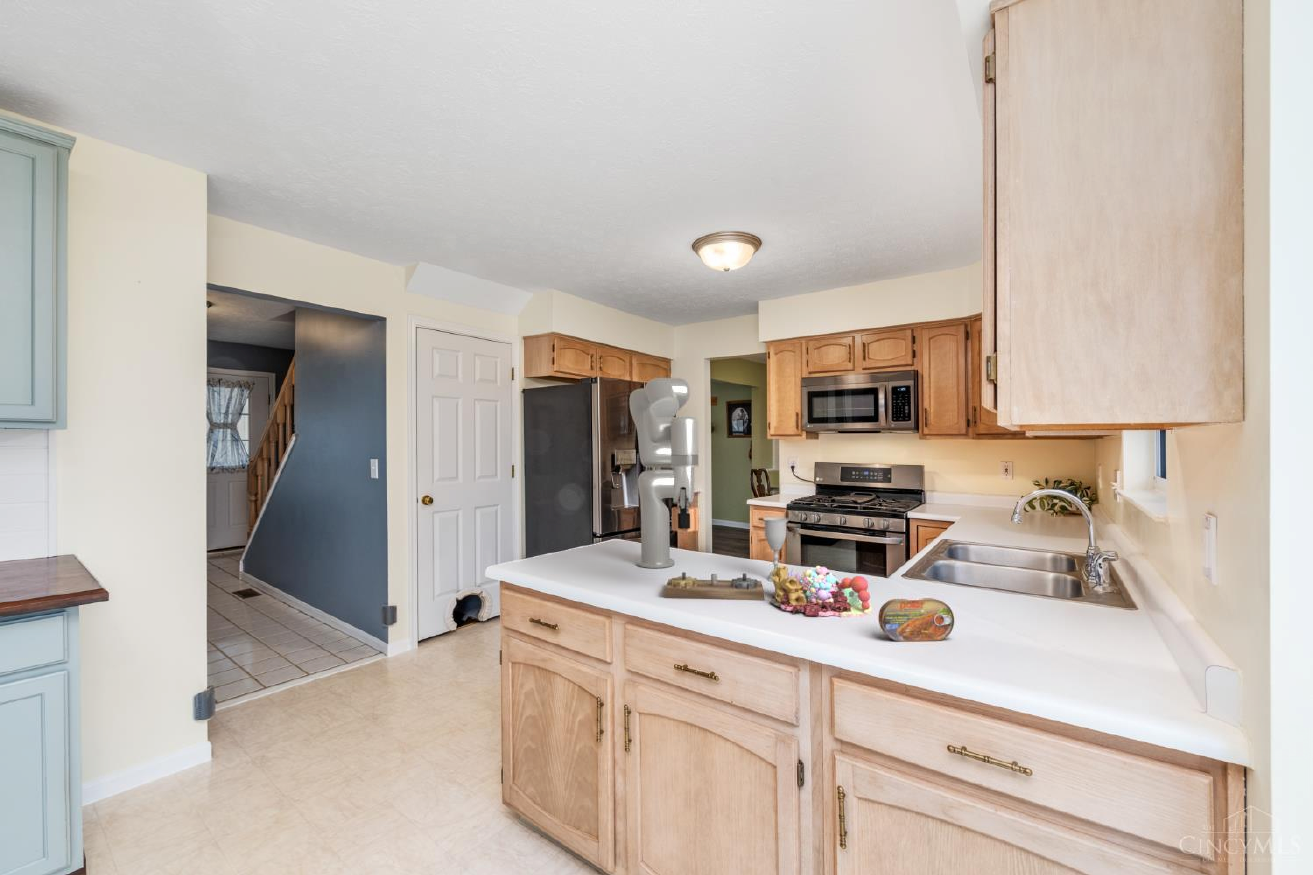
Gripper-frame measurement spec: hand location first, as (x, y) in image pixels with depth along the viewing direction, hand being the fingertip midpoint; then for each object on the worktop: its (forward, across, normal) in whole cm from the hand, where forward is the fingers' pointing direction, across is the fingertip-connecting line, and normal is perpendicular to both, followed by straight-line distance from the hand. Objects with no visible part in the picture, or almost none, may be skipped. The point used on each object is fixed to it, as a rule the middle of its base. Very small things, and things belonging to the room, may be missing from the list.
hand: (685, 525), depth 156 cm
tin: (+19, +31, +51) cm, 62 cm away
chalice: (+18, -16, +25) cm, 35 cm away
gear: (+1, 0, 0) cm, 1 cm away
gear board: (+18, 0, +8) cm, 20 cm away
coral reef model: (+19, +7, +34) cm, 40 cm away
